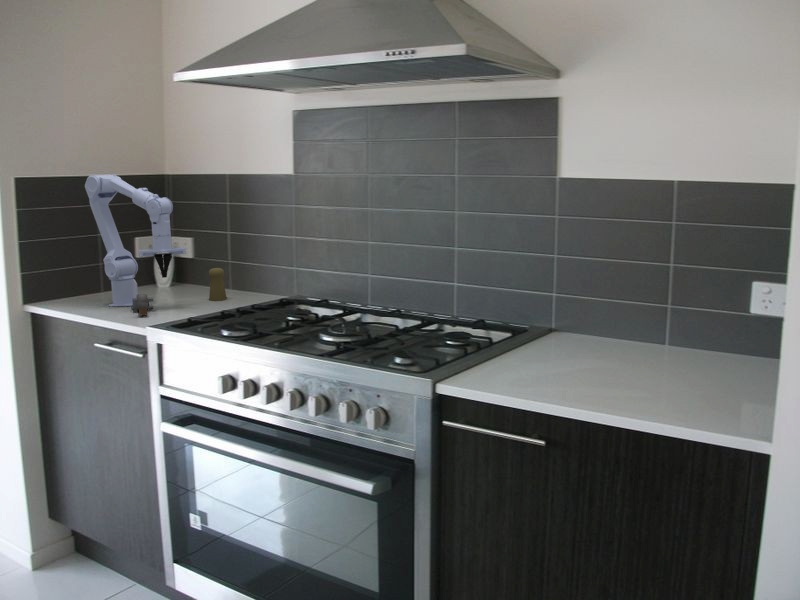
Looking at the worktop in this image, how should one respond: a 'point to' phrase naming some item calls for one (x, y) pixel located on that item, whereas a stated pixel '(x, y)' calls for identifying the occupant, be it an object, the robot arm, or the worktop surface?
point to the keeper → (150, 299)
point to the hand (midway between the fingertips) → (164, 277)
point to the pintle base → (147, 308)
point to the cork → (217, 285)
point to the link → (142, 303)
